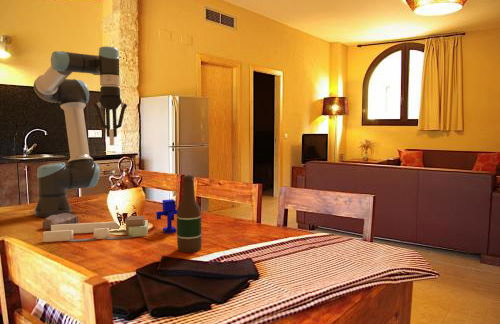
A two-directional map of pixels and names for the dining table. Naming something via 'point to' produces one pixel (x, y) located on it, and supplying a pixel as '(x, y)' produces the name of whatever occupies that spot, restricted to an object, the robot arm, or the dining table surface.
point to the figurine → (168, 214)
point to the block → (134, 222)
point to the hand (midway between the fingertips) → (112, 145)
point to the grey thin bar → (94, 239)
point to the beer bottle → (188, 219)
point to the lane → (89, 230)
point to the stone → (60, 220)
